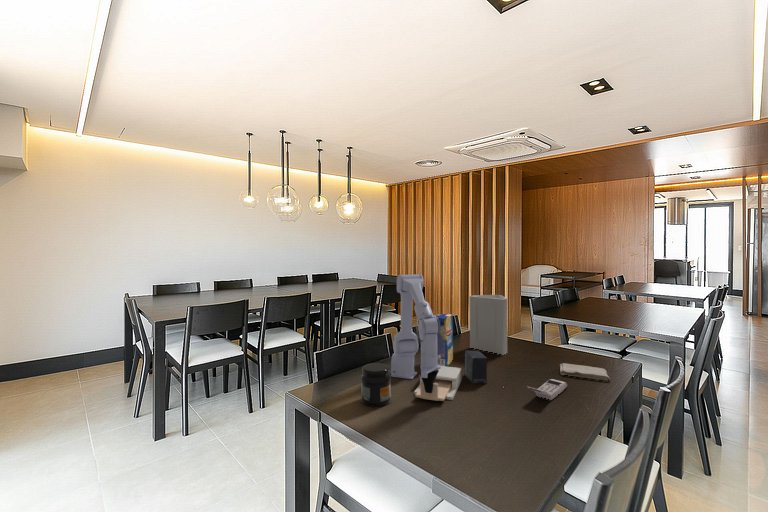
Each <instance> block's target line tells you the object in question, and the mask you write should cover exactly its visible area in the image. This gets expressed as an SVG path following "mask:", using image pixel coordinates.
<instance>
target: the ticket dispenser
mask: <svg viewBox="0 0 768 512" xmlns="http://www.w3.org/2000/svg"><path fill="white" fill-rule="evenodd" d="M438 370H439V372H438V374H437V376H436V379H435V380H438V381H445V382H452V386H451V388H450V390H449V392H448V394H447V396H446V398H445V400H449V401H453V400H454V398H455V395H456V393H457V391H458V388H459V387H460V385H461V382H462V380H463V379H462V373H463V372H462V367H455V366H447V367H446V366H441V369H438ZM418 376H419V385H418V386H417V388H416V389H415V390H414V392H413V395H414V396H415V395H416V393H417V392H418V391H419V389H420V388H421V381H423V380H422V378H421V377H420V374H418Z"/></svg>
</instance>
